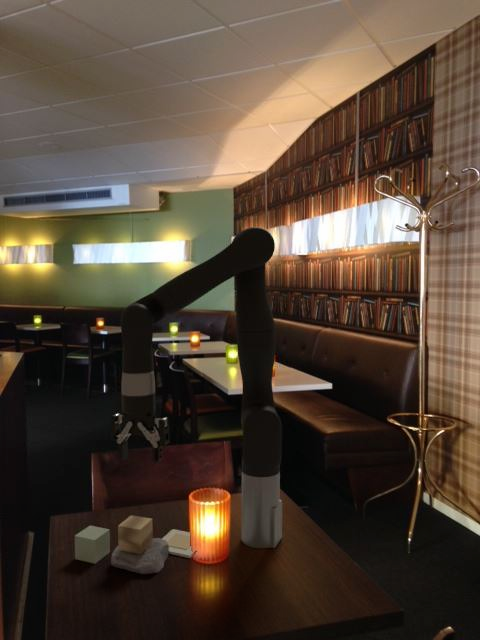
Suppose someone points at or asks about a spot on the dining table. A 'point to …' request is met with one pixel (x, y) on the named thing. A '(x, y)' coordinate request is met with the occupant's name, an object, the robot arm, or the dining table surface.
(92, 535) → the sage green cube
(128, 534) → the maple cube
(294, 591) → the dining table surface
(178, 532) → the card
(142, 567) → the stone block
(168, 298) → the robot arm
